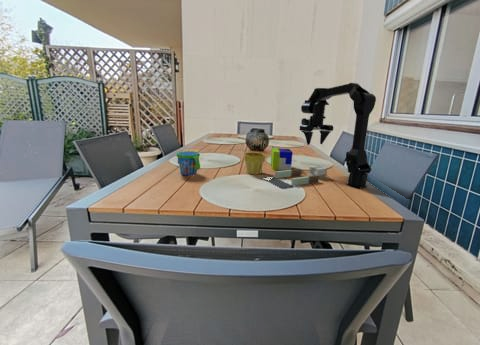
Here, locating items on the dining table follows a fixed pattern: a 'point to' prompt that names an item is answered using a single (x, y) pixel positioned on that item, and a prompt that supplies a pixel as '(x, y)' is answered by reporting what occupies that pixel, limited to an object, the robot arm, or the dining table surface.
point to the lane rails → (297, 180)
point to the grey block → (317, 171)
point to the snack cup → (188, 162)
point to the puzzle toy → (281, 159)
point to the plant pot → (254, 162)
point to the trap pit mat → (279, 183)
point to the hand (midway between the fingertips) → (314, 144)
